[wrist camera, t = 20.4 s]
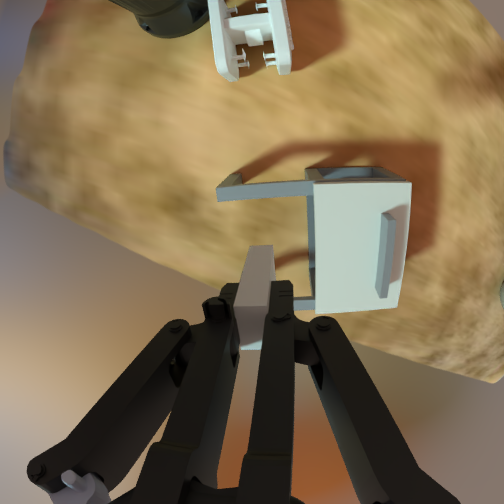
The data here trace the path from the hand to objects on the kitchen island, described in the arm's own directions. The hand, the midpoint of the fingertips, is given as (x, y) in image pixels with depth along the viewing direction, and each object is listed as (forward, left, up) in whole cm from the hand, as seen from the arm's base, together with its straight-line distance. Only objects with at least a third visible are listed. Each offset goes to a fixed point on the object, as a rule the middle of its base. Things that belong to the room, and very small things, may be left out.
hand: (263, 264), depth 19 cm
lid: (+9, +12, -21) cm, 26 cm away
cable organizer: (-25, -1, -33) cm, 41 cm away
